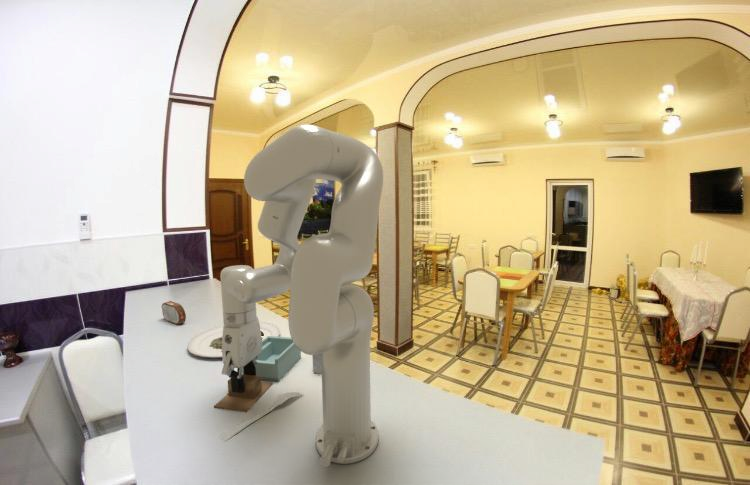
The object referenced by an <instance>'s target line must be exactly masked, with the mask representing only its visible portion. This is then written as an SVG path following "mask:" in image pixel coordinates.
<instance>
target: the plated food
mask: <svg viewBox="0 0 750 485" xmlns="http://www.w3.org/2000/svg"><path fill="white" fill-rule="evenodd" d="M259 324H260V329H264V330H267V331H268V332H270V334H271V336H277V337H280V335H281V330H280V328H279V327H278V326H277V325H275V324H274V323H270V322H266V321H259ZM223 326H224V324H223V325H219V326H216V327H212V328H210V329H207V330H205V331H202V332H200V333H198V334H197V335H195V336H194V337H192V338H191V339H190V340H189V342H188V343H187V351H188V352H189V353H191V355H194V356H198V357H203V358H222V335H223ZM261 336H264V333H263V332H262V331H261ZM261 338H262V337H261ZM262 339H263V338H262Z"/></svg>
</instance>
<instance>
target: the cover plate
mask: <svg viewBox="0 0 750 485" xmlns="http://www.w3.org/2000/svg"><path fill="white" fill-rule="evenodd" d="M242 376H243V377H244V389H245V391H244V392H243V393H236V392H232V389H231V378H229V379H228V380H227V394H226V395H225V396H223V398H221V399H220V400H219V401H218V402H216V403H215V404H214V405H213V408H214V409H220V410H224V411H225V410H228V411H233V412H240V413H241V412H243V413H247V412H248V411H250V409H251V408H252V407H253V406H254V405H255V404H256V403H257V402H258V401H259V399H260V398H262V396H263V395H264V394H265V393H266V392H267V391H269V389H270V388H271V386H273V384H274V381H265V380H261V376H254V375H245V374H242Z"/></svg>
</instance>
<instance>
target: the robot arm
mask: <svg viewBox="0 0 750 485" xmlns="http://www.w3.org/2000/svg"><path fill="white" fill-rule="evenodd" d="M243 177H244V178H243V184H244V188H245V191H246V193H247V195H248V196H250V197H251V198H252V199H253V200H256V201H258V202H264V204H263V207H262V209H261V213H260V216H259V219H258V221H257V229H258V232H259V233H260V234H261V235H262V236H263V237H265V238H266V239H268V240H269V241H272V242H274V243H276V244H279V252H278V254H277V257H276V260H275V263H274V264H271V265H266V266H261V267H257V268H253V267H252V266H251V265H246V264H244V265H243V264H240V265H239V264H238V265H237V264H236V265H229V266H227V267H226V266H225V267H224V268H223V269H222V270H221V271H220V276H219V277H220V278H219V279H220V290H221V292H220V293H221V302H222V306H221V307H222V318H223V319H222V320H223V325H224V326H223V335H222V357H221V358H222V364H223V367H222V369H221V375H223V376H224V375H225V376H227V377H228V378H229V379H230V378H231V389H232V392H236V393H243V392H244V391H245V389H244V377H243V376H242V367H243V370H244V374H245V375H254V376H256V364H257V361H256V359H257V356H258V355H259V354H260V353H261V351H262V338H261V330H260V324H259V322H260V321H259V318H258V316H257V303H260V302H262V301H265V300H268V299H272V298H274V297H277V296H281V295H284V294H286V293H287V292H288V291H289V304H288V331H289V334H290V338H292V340H293V342H294V344H295V346H296V347H297V348H298V349H299V350H300V351H301V353H304V354H306V355H309V356H312V355H318V354H322V357H321V367H322V369H321V370H322V373H321V395H322V396H321V398H322V402H321V403H322V425H320V427H319V428H318V431H316V436H315V447H316V449H317V453H318V454H319V455H320V456H321V457H320V458H319V463H320V465H321V466H322V467H325V468H326V467H329V466H330V465H331V462H333V463H335V464H341V465H342V464H343V465H344V464H345V465H347V464H353V463H354V464H355V463H358V462H360V461H362V460H364V459H366V458H368V457H369V456H370V455H372V453H373V452H374V451H375V450H376V448H377V446H378V445H379V437H380V436H379V430H378V427H377V425H376V424H375V423H374V421H373V420H372V419H371V418H372V417H371V407H372V406H371V340H372V331H373V325H374V320H375V318H374V317H375V309H374V302H373V300H372V297H371V296H370V294H369V293H368V291H366V290H365V288H363V287H361V286H359V285H355V284H353V283H355V282H358V281H361V280H362V279H364V278H365V277H367V276H368V275H369V273H370V272H371V271H372V268H373V263H374V256H375V249H376V247H375V246H376V240H377V230H378V224H379V223H378V222H379V210H380V203H381V198H382V197H381V196H382V193H383V186H384V170H383V166H382V163H381V160H380V158H379V156H378V155H377V154H376V152H375V151H374V150H373V149H372V147H370V146H368V145H367V144H365V143H364V142H362V141H360V140H359V139H356V138H354V137H353V136H352V137H351V136H349V135H346V134H343V133H341V132H337V131H332V130H329V129H326V128H324V127H321V126H317V125H313V124H300V125H298V126H297V125H296V126H295V127H292V128H290V129H289V130H288V131H286V132H285V133H283V134H282V135H280V136H279V137H277V138H276V139H275V140H273V141H272V142H270V143H269V144H268V145H266V146H265V147H264V148H262V149H261V150H260V151H259V152H257V153H256V155H254V156H253V157H252V159H251V160H250V161H249V163H248V164H247V166H246V169H245V172H244V176H243ZM317 180H323V181H335V182H338V183H340V184H341V187H340V188H339V190H338V192H337V194H336V195H335V198H334V200H333V203H332V207H331V219H330V226H329V229H328V232H327V233H320V234H316V235H315V234H314V235H311V236H310V237H308V238H306V239H305V240H303V242H302V243H301V244H300V242H299V240H298V235H299V232H300V229H301V227H302V224H303V222H304V218H305V215H306V213H307V211H308V207H309V206H310V204H311V203H310V202H311V201H312V200H311V199H312V197H313V194H314V193H315V188H316V185H317ZM235 368H236V370H235Z"/></svg>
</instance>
